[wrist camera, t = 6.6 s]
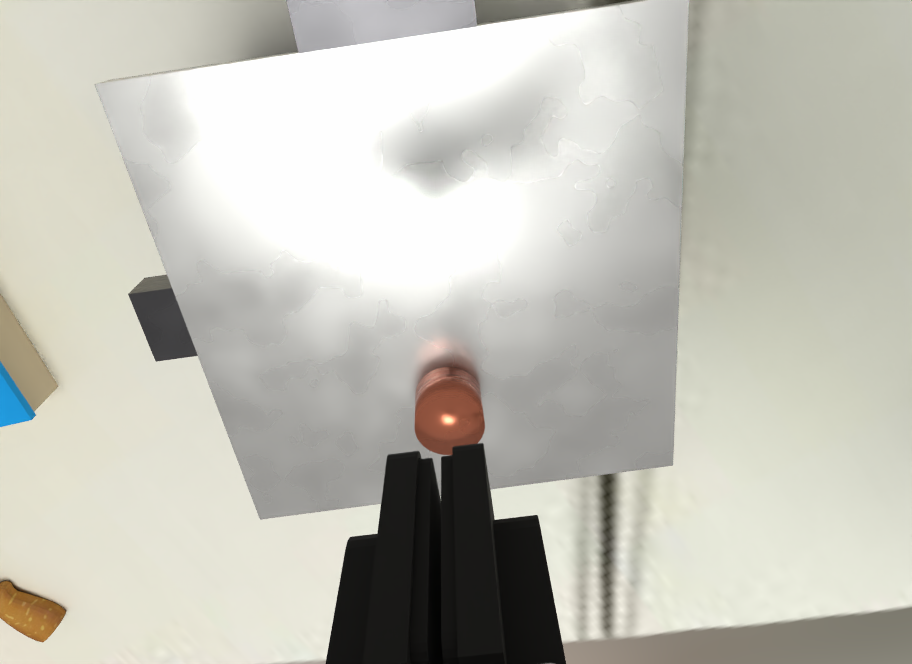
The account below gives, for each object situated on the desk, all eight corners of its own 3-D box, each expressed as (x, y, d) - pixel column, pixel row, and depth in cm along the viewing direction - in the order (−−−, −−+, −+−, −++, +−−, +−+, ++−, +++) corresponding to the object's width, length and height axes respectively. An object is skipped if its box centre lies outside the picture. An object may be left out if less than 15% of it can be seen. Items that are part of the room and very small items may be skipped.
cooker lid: (681, -179, 17) (729, -211, 14) (664, 449, 26) (691, 500, 24) (51, -79, 17) (-17, -91, 14) (265, 502, 27) (247, 558, 24)
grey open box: (576, 21, 30) (657, 33, 19) (589, 323, 37) (653, 451, 27) (167, 82, 31) (28, 127, 20) (259, 368, 38) (194, 511, 27)
